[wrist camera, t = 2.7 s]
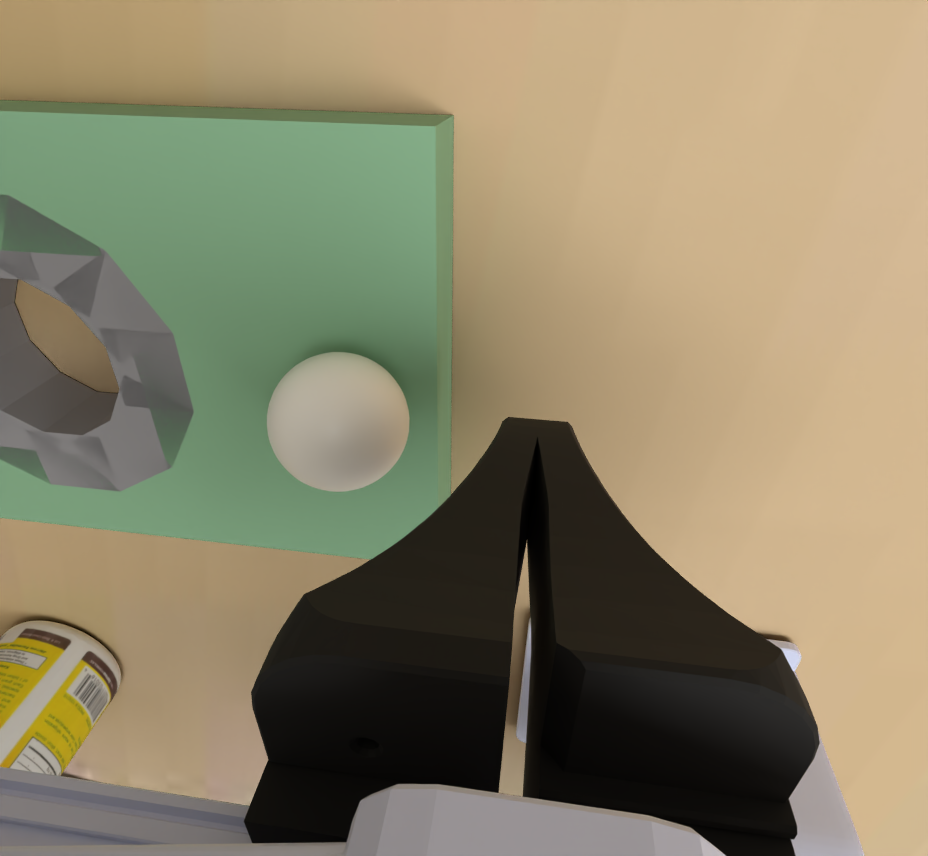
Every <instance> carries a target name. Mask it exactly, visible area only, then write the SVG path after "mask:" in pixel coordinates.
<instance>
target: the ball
mask: <svg viewBox="0 0 928 856" xmlns="http://www.w3.org/2000/svg"><path fill="white" fill-rule="evenodd" d="M409 420H410V418H409V410H408V406H407V402H406V399H405V396H404V394H403V392H402V390H401V388H400V386H399V385H398V383H397V382H396V380H395V379H394V378H393V377H392V376H391V374H390V373H389V372H388V371H387V370H385V369H384V368H383V367H382V366H380V365H379V364H377V363H376V362H374V361H372V360H370V359H368V358H366V357H363V356H361V355H357V354H353V353H346V352H329V353H323V354H319V355H316V356H313V357H310V358H308V359H306V360H304V361H302V362H301V363H299V364H297V365H296V366H294V367H293V368H292V369H291V370H290V371H289V372H288V373H286V374H285V376H284V377H283V378H282V379H281V380H280V382H279V383H278V385H277V387H276V388H275V390H274V392H273V394H272V397H271V400H270V402H269V406H268V412H267V431H268V437H269V441H270V444H271V447H272V449H273V451H274V454H275V455H276V457H277V459H278V460H279V462H280V463H281V464H282V465H283V467H284V468H285V469H286V470H287V471H288V472H289V473H290V474H291V475H292V476H294V477H295V478H296V479H298V480H299V481H301V482H303V483H304V484H307V485H309V486H311V487H314V488H317V489H321V490H325V491H332V492H345V491H351V490H356V489H360V488H363V487H365V486H367V485H370V484H372V483H374V482H376V481H377V480H379V479H380V478H381V477H383V476H384V475H385V474H386V473H387V472H389V471H390V469H391V468H392V467H393V466H394V465H395V463H396V462H397V461H398V459H399V458H400V456H401V454H402V452H403V450H404V448H405V445H406V442H407V438H408V434H409Z"/></svg>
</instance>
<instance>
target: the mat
mask: <svg viewBox="0 0 928 856" xmlns="http://www.w3.org/2000/svg"><path fill="white" fill-rule="evenodd" d="M453 135H454V115H436V114H406V113H376V112H345V111H315V110H285V109H255V108H225V107H195V106H165V105H135V104H105V103H75V102H45V101H15V100H0V518H6V519H15V520H24V521H33V522H41V523H50V524H59V525H68V526H77V527H86V528H95V529H104V530H113V531H122V532H131V533H140V534H148V535H157V536H166V537H175V538H184V539H193V540H202V541H211V542H220V543H229V544H238V545H246V546H255V547H264V548H273V549H282V550H291V551H300V552H309V553H318V554H327V555H336V556H344V557H353V558H362V559H372V558H374V557H376V556H377V555H379V554H380V553H382V552H383V551H385V550H386V549H388V548H390V547H391V546H392V545H394V544H395V543H397V542H398V541H399V540H401V539H402V538H403V537H405V536H406V535H407V534H408V533H410V532H411V531H412V530H413V529H414V528H416V527H417V526H418V525H419V524H421V523H422V522H423V521H424V520H425V519H427V518H428V517H429V516H430V515H431V514H432V513H433V512H434V511H435V510H436V509H437V508H438V507H440V506H441V505H442V504H443V503H444V502H445V501H446V500H447V498H448V497H449V496H450V495H451V394H452V264H453ZM18 279H20V280H23V281H24V282H26V283H28V284H30V285H32V286H33V287H35V288H37V289H39V290H41V291H43V292H44V293H46V294H48V295H50V296H52V297H53V298H55V299H57V300H59V301H61V302H63V303H64V304H66V305H68V306H70V307H71V309H72V310H73V311H74V312H75V313H76V314H77V315H78V317H79V318H80V319H81V320H82V321H83V322H84V323H85V324H86V326H87V327H88V328H89V329H90V330H91V331H92V332H93V334H94V335H95V336H96V337H97V338H98V339H99V340H100V341H101V343H102V344H103V345H104V346H105V347H106V350H107V353H108V356H109V359H110V362H111V365H112V368H113V371H114V374H115V377H116V380H117V383H118V386H119V393H118V394H116V393H105V392H96V391H94V390H93V389H91V388H89V387H87V386H85V385H83V384H81V383H79V382H77V381H75V380H74V379H72V378H70V377H68V376H66V375H64V374H62V373H60V372H59V371H58V370H57V369H56V368H55V367H54V365H53V364H52V363H51V362H50V361H49V360H48V359H47V358H46V357H45V356H44V355H43V354H42V353H41V352H40V351H39V350H38V348H37V347H36V346H35V345H34V344H33V343H32V342H31V341H30V340H29V337H28V335H27V332H26V330H25V328H24V325H23V323H22V320H21V318H20V315H19V313H18V310H17V308H16V306H15V303H14V300H15V294H16V287H17V280H18ZM329 352H346V353H353V354H357V355H361V356H363V357H366V358H368V359H370V360H372V361H374V362H376V363H377V364H379V365H380V366H382V367H383V368H384V369H385V370H387V371H388V372H389V373H390V374H391V376H392V377H393V378H394V379H395V380H396V382H397V383H398V385H399V386H400V388H401V390H402V392H403V394H404V396H405V399H406V402H407V406H408V410H409V418H410V420H409V434H408V438H407V442H406V445H405V448H404V450H403V452H402V454H401V456H400V458H399V459H398V461H397V462H396V463H395V465H394V466H393V467H392V468H391V469H390V471H389V472H387V473H386V474H385V475H384V476H383V477H381V478H380V479H379V480H377V481H376V482H374V483H372V484H370V485H367V486H365V487H363V488H360V489H356V490H351V491H345V492H332V491H325V490H321V489H317V488H314V487H311V486H309V485H307V484H304V483H303V482H301V481H299V480H298V479H296V478H295V477H294V476H292V475H291V474H290V473H289V472H288V471H287V470H286V469H285V468H284V467H283V465H282V464H281V463H280V462H279V460H278V459H277V457H276V455H275V454H274V451H273V449H272V447H271V444H270V441H269V437H268V431H267V412H268V406H269V402H270V400H271V397H272V394H273V392H274V390H275V388H276V387H277V385H278V383H279V382H280V380H281V379H282V378H283V377H284V376H285V374H286V373H288V372H289V371H290V370H291V369H292V368H293V367H294V366H296V365H297V364H299V363H301V362H302V361H304V360H306V359H308V358H310V357H313V356H316V355H319V354H323V353H329Z"/></svg>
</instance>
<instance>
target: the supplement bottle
mask: <svg viewBox="0 0 928 856" xmlns="http://www.w3.org/2000/svg"><path fill="white" fill-rule="evenodd" d="M120 682H121V672H120V668H119V665H118V663H117V661H116V660H115V658H114V657H113V655H112V654H111V653H110V652H109V651H108V650H107V649H106V648H105V647H104V646H103V645H102V644H101V643H99V642H98V641H97V640H95V639H94V638H92V637H91V636H89V635H87V634H85V633H84V632H82V631H79V630H77V629H75V628H72V627H70V626H67V625H64V624H60V623H56V622H51V621H28V622H24V623H21V624H18V625H16V626H14V627H12V628H10V629H9V630H8V631H6V632H5V633H4V634H3V635H2V636H1V637H0V767H5V768H12V769H18V770H24V771H31V772H37V773H43V774H50V775H56V776H61V774H62V773H63V771H64V770H65V768H66V767H67V765H68V764H69V762H70V761H71V759H72V758H73V756H74V755H75V753H76V752H77V750H78V749H79V748H80V746H81V745H82V743H83V742H84V740H85V739H86V737H87V736H88V734H89V733H90V731H91V730H92V728H93V727H94V725H95V724H96V722H97V721H98V719H99V718H100V716H101V715H102V713H103V712H104V710H105V709H106V707H107V706H108V705H109V703H110V702H111V700H112V699H113V697H114V695H115V694H116V692H117V690H118V688H119V686H120Z"/></svg>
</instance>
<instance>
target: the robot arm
mask: <svg viewBox="0 0 928 856" xmlns="http://www.w3.org/2000/svg"><path fill="white" fill-rule="evenodd" d="M526 542H527V548H528V572H529V594H530V619H529V624H528V633H527V641H526V650H525V658H524V667H523V676H522V684H521V693H520V701H519V710H518V719H517V727H516V737H517V738H518V739H519V740H520V741H522V742H525V743H526V751H525V768H524V784H523V797H521V796H515V795H508V794H501V793H498V792H499V781H500V771H501V761H502V751H503V740H504V730H505V720H506V710H507V699H508V689H509V678H510V665H511V651H512V637H513V620H514V609H515V603H516V598H517V592H518V586H519V581H520V575H521V570H522V564H523V559H524V553H525V547H526ZM800 660H801V654H800V652H799V649H798V647H797V646H796V645H795V644H793V643H790V642H787V641H778V640H770V639H765V638H764V637H762V636H761V635H759V634H758V633H756V632H755V631H753V630H752V629H750V628H749V627H747V626H746V625H744V624H743V623H741V622H740V621H738V620H737V619H735V618H734V617H732V616H731V615H730V614H728V613H727V612H726V611H724V610H723V609H722V608H720V607H719V606H718V605H716V604H715V603H714V602H713V601H711V600H710V599H709V598H707V597H706V596H705V595H704V594H702V593H701V592H700V591H698V590H697V589H696V588H695V587H694V586H692V585H691V584H690V583H689V582H688V581H687V580H685V579H684V578H683V577H682V576H681V575H680V574H679V573H678V572H677V571H675V570H674V569H673V568H672V567H671V566H670V565H669V564H668V563H667V562H666V561H665V560H664V559H662V558H661V557H660V556H659V555H658V554H657V553H656V552H655V551H654V550H653V549H652V548H651V547H650V546H649V544H648V543H647V542H646V541H645V540H644V539H643V538H642V537H641V535H640V534H639V533H638V532H637V531H636V530H635V529H634V527H633V526H632V525H631V524H630V522H629V521H628V520H627V519H626V517H625V516H624V515H623V514H622V512H621V511H620V509H619V508H618V507H617V505H616V504H615V503H614V501H613V500H612V498H611V497H610V496H609V494H608V493H607V491H606V490H605V488H604V487H603V485H602V483H601V482H600V480H599V478H598V477H597V475H596V474H595V472H594V470H593V469H592V467H591V465H590V463H589V462H588V460H587V458H586V456H585V454H584V452H583V450H582V448H581V446H580V444H579V442H578V440H577V438H576V435H575V433H574V430H573V428H572V426H571V425H570V424H569V423H568V422H561V421H549V420H537V419H525V418H513V417H508V418H506V419H505V420H504V421H502V424H501V427H500V429H499V431H498V433H497V435H496V436H495V438H494V440H493V441H492V443H491V445H490V446H489V448H488V449H487V451H486V452H485V454H484V455H483V456H482V458H481V459H480V460H479V462H478V463H477V465H476V466H475V467H474V469H473V470H472V471H471V472H470V474H469V475H468V476H467V477H466V478H465V479H464V481H463V482H462V483H461V484H460V485H459V486H458V488H457V489H456V490H455V491H454V492H453V493H452V494H451V495H450V496H449V497H448V498H447V500H446V501H445V502H444V503H443V504H442V505H441V506H440V507H438V508H437V509H436V510H435V511H434V512H433V513H432V514H431V515H430V516H429V517H428V518H427V519H425V520H424V521H423V522H422V523H421V524H419V525H418V526H417V527H416V528H414V529H413V530H412V531H411V532H410V533H408V534H407V535H406V536H405V537H403V538H402V539H401V540H399V541H398V542H397V543H395V544H394V545H392V546H391V547H390V548H388V549H386V550H385V551H383V552H382V553H380V554H379V555H377V556H376V557H374V558H372V559H371V560H369V561H368V562H366V563H365V564H363V565H362V566H360V567H358V568H356V569H354V570H353V571H351V572H349V573H347V574H345V575H343V576H341V577H339V578H337V579H335V580H333V581H331V582H329V583H327V584H325V585H323V586H321V587H319V588H317V589H315V590H312V591H310V592H308V593H306V594H304V595H303V597H302V598H301V600H300V601H299V602H298V604H297V605H296V607H295V608H294V610H293V611H292V613H291V614H290V616H289V618H288V619H287V621H286V622H285V624H284V625H283V627H282V628H281V630H280V632H279V633H278V635H277V637H276V639H275V641H274V642H273V644H272V646H271V649H270V651H269V653H268V655H267V657H266V659H265V662H264V664H263V666H262V668H261V670H260V673H259V675H258V677H257V679H256V682H255V684H254V687H253V689H252V692H251V695H252V706H253V710H254V714H255V717H256V720H257V723H258V727H259V730H260V733H261V737H262V740H263V743H264V746H265V750H266V753H267V756H268V762H267V764H266V767H265V769H264V772H263V774H262V777H261V779H260V782H259V784H258V787H257V789H256V792H255V794H254V797H253V799H252V802H251V804H250V806H247V805H241V804H234V803H228V802H222V801H215V800H209V799H203V798H196V797H190V796H183V795H177V794H171V793H164V792H158V791H152V790H145V789H139V788H133V787H126V786H120V785H113V784H107V783H101V782H94V781H88V780H81V779H75V778H68V777H62V776H56V775H50V774H43V773H37V772H31V771H24V770H18V769H12V768H5V767H0V856H865V855H864V852H863V849H862V846H861V843H860V840H859V837H858V835H857V832H856V829H855V827H854V824H853V821H852V819H851V816H850V814H849V811H848V808H847V806H846V803H845V800H844V798H843V795H842V793H841V790H840V787H839V785H838V782H837V780H836V777H835V774H834V772H833V769H832V766H831V764H830V761H829V759H828V756H827V753H826V751H825V748H824V745H823V743H822V740H821V738H820V735H819V732H818V728H817V724H816V722H815V719H814V716H813V714H812V711H811V709H810V706H809V703H808V701H807V698H806V696H805V694H804V692H803V690H802V688H801V685H800V683H799V680H798V677H797V675H796V672H795V670H796V668H797V666H798V664H799V662H800Z"/></svg>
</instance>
